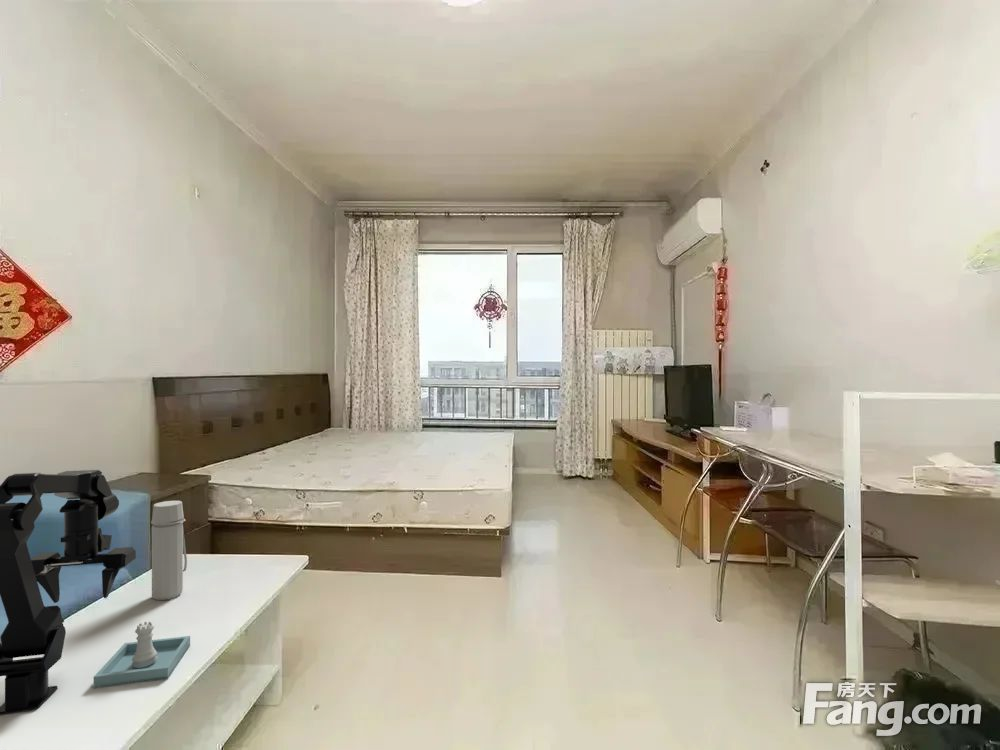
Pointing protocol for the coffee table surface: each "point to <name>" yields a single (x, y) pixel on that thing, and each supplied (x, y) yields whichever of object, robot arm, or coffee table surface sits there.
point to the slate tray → (125, 673)
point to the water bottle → (167, 550)
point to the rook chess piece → (144, 647)
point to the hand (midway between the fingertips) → (81, 599)
